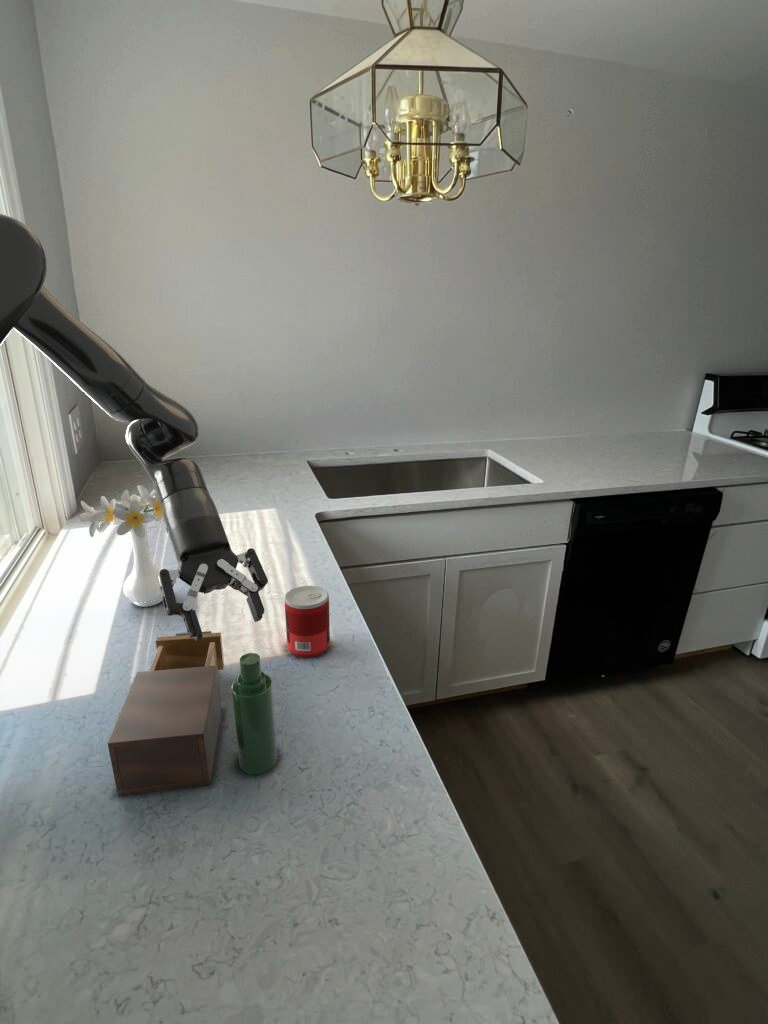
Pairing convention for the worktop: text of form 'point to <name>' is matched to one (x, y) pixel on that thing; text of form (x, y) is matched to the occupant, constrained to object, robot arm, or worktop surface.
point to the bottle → (254, 717)
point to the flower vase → (144, 572)
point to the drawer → (188, 652)
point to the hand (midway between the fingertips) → (230, 628)
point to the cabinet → (167, 730)
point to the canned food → (307, 621)
